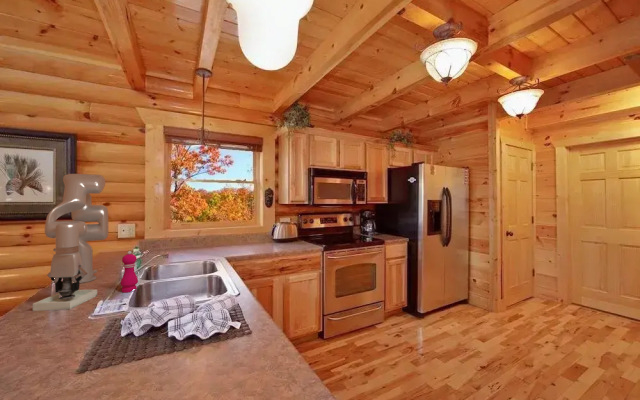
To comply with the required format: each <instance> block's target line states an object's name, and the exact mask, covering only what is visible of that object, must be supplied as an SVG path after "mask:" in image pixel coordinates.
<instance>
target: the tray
mask: <svg viewBox="0 0 640 400" xmlns="http://www.w3.org/2000/svg"><path fill="white" fill-rule="evenodd" d="M57 293H58V294H57ZM57 293H55V294H53V295H50V296H48V297H45V298H43V299H41V300H38V301H36V302H33V303H32V312H37V311H38V312H39V311H61V310H65V311H67V310H72V309H74V308H76V307H77V306H79V305H81V304H83V303H86V302H87V301H89V300H92V299H94V298H95V297H97V296H98V289H79V290H77V291H75V292H74V293H73V294H71V295H75V297H73V298H70V299H65V300H60V299H59V295H60V294H59V292H57Z"/></svg>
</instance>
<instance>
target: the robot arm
mask: <svg viewBox="0 0 640 400" xmlns="http://www.w3.org/2000/svg"><path fill="white" fill-rule="evenodd" d="M62 179H63V185H64V190H63V197H62V202H61V203H59V204H57V205H56V206H54V207H53V208H52V209H51V210H50V211H49V212H48V214H47V216H46V220H45V224H44V235H45V237H46V238H49V239H55V247H54V248H53V250H52V251H53V252H55V254H53V255H52V258H51V263H50V271H49V272H48V273H47V274H46V276H47V277H48V278H49V279H50V280H51V281H52V282H53V284H54V285H55V286H54V289H55V293H59V292H58V291H59V290H60V289H62V287H63V282H62V281H63V277H71V278H72V280H73V282H74V283H72V292H75V291H77V290H80V284H83V283H88V282H93V281H94V280H96V279H97V276H96V275H94V274H96V273H97V272H98V269H95V268H94V269H93V267H94V265H93V262H94V261H93V260H94V259H93V252H94V251H93V247H92V245H90V244H89V242H92V241H93V242H94V241H95V242H96V241H105V240H106V239H108V237H109V210H108V207H106V206H105V205H101V204H92V198H93V197H92V194H101V193H102V192H103V190H104V188H105V186H106V180H105V177H104V175H102V174H89V173H87V174H86V173H69V174H65V175H63V178H62ZM69 213H71V214H70V215H71V219H72V221H71V220H67V221H66V220H62V221H57V219H58V218H60V217H61V216H64V215H66V214H69ZM87 222H97V223H89V224H88V223H87ZM54 278H55V279H54Z"/></svg>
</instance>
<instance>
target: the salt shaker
mask: <svg viewBox="0 0 640 400" xmlns="http://www.w3.org/2000/svg"><path fill="white" fill-rule="evenodd" d="M72 281H73V280H72V278H71V277H63V278H62V282H63V287H62V289H60V290H59V291H58V292H57V293H59V294H60V295H61V296H62V297H60V298H59V299H60V300H65V299H70V298H73V297H75V295H71V294H73V293H74V292H72Z"/></svg>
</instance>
